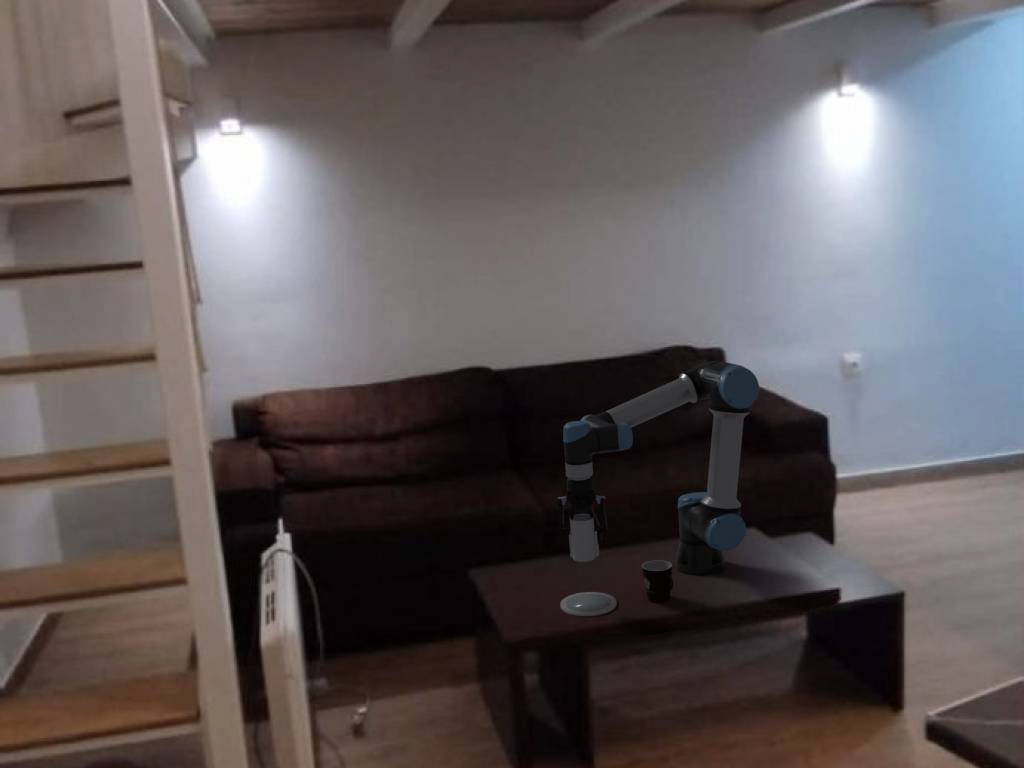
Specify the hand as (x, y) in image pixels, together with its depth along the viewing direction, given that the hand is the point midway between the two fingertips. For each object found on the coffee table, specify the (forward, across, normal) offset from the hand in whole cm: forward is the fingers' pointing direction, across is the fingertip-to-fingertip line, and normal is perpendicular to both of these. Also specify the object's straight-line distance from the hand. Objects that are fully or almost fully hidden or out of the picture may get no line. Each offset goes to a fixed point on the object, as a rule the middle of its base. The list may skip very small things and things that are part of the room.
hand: (584, 555), depth 291 cm
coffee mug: (+15, -20, -3) cm, 25 cm away
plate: (+15, 0, 0) cm, 15 cm away
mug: (+1, 0, 0) cm, 1 cm away
